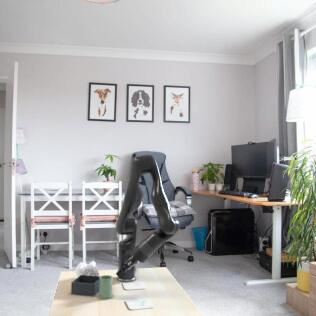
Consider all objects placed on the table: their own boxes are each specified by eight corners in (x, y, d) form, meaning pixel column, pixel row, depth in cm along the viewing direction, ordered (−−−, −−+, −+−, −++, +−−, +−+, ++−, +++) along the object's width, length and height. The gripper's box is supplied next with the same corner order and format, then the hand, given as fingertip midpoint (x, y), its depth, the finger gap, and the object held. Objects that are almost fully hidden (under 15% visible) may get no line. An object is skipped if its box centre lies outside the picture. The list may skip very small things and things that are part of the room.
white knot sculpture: (78, 275, 191) (78, 259, 191) (100, 275, 192) (100, 259, 192) (74, 282, 180) (75, 265, 180) (98, 282, 181) (98, 265, 181)
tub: (80, 285, 176) (81, 274, 176) (102, 287, 174) (102, 276, 174) (71, 294, 164) (71, 282, 165) (94, 296, 162) (94, 284, 163)
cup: (101, 293, 166) (101, 274, 166) (113, 294, 165) (114, 275, 165) (97, 298, 160) (97, 278, 160) (109, 299, 159) (110, 279, 159)
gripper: (144, 240, 165) (122, 262, 168) (134, 246, 151) (109, 270, 154) (155, 252, 163) (132, 274, 166) (145, 260, 149) (120, 283, 153)
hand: (121, 272), depth 160 cm, fingers open, 8 cm apart
